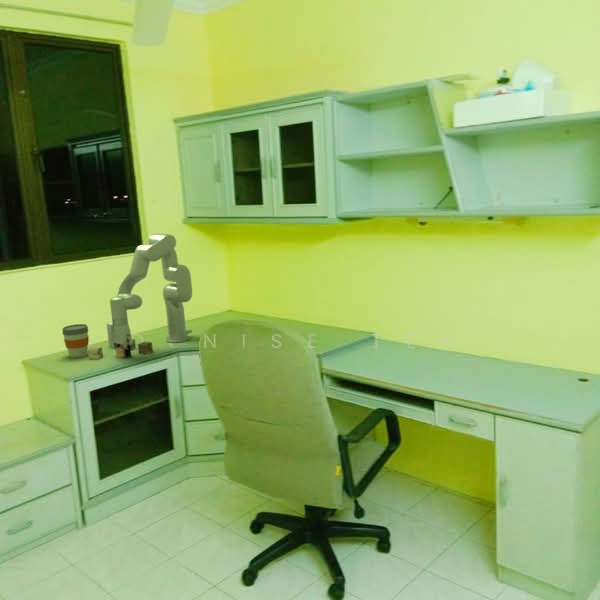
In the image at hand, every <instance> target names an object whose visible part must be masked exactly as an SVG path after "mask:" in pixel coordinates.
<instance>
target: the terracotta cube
mask: <svg viewBox="0 0 600 600" xmlns="http://www.w3.org/2000/svg"><path fill="white" fill-rule="evenodd" d="M125 349H126V348H125V346H124V345H123V346H120V347H117V348H115V352H116V353H117V354H116V353H115V354H116V357H117V356H119V357H126V356H125ZM119 357H118V358H119ZM126 358H127V357H126Z"/></svg>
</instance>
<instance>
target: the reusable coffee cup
mask: <svg viewBox="0 0 600 600" xmlns="http://www.w3.org/2000/svg"><path fill="white" fill-rule="evenodd" d="M88 332H89V328H88V324H86V323H83V324H82V323H78V324H71V325H66V326H64V327H62V335H63V341H64V344H65V348H66V349H67V352H68V356H69V358H80V356H82V357H85V356H87V355H89V354H88V349H89V348H88V346H89V342H90V341H89V340H90V339H89V338H90V337H89V335H88V334H89V333H88Z"/></svg>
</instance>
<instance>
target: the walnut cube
mask: <svg viewBox="0 0 600 600" xmlns="http://www.w3.org/2000/svg"><path fill="white" fill-rule="evenodd" d="M137 348H138V354H140V353H145V354H144V355H147V353H148V354H150V353H152V352H153V342H152V341H143V342H140V343H138V344H137ZM151 351H152V352H151ZM149 352H150V353H149Z"/></svg>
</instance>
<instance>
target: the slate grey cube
mask: <svg viewBox="0 0 600 600" xmlns="http://www.w3.org/2000/svg"><path fill="white" fill-rule="evenodd" d="M131 339H132V341H133V342H134V343H133V345H132V346H131V350H134V349H133V348H136V347H137V346H136V339H134V338H132V337H131ZM122 345H123V344H122ZM126 345H127V346H128V344H126Z"/></svg>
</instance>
